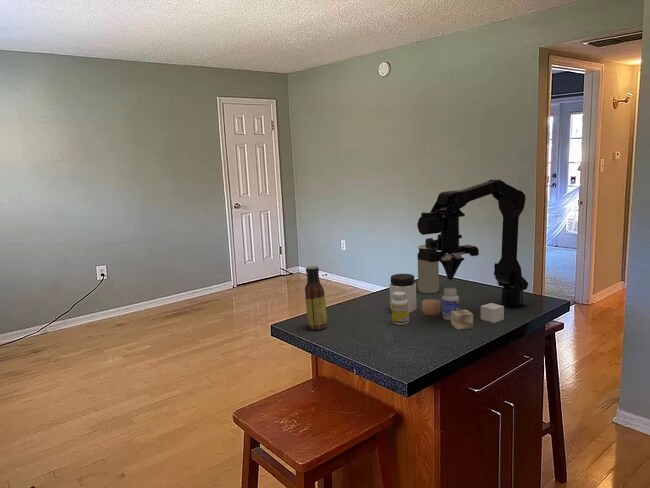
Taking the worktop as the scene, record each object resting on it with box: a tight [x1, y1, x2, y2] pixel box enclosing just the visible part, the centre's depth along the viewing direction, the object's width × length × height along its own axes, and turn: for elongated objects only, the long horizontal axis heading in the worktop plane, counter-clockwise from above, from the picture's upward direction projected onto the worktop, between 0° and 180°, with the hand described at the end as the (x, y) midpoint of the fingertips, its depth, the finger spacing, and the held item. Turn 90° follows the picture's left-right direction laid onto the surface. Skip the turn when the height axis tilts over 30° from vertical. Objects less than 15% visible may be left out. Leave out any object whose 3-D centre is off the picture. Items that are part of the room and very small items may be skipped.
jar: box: [389, 273, 417, 314], centre depth 172 cm, size 9×8×12 cm
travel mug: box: [417, 244, 440, 295], centre depth 193 cm, size 8×8×18 cm
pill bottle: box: [441, 287, 460, 321], centre depth 161 cm, size 5×5×10 cm
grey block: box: [480, 302, 505, 324], centre depth 158 cm, size 5×5×4 cm
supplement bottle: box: [391, 292, 410, 326], centre depth 159 cm, size 5×5×10 cm
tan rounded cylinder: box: [421, 298, 441, 317], centre depth 168 cm, size 6×6×4 cm
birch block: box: [450, 309, 474, 330], centre depth 153 cm, size 5×5×4 cm
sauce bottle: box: [304, 265, 328, 331], centre depth 158 cm, size 6×6×20 cm
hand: (450, 279), depth 160 cm, fingers closed
